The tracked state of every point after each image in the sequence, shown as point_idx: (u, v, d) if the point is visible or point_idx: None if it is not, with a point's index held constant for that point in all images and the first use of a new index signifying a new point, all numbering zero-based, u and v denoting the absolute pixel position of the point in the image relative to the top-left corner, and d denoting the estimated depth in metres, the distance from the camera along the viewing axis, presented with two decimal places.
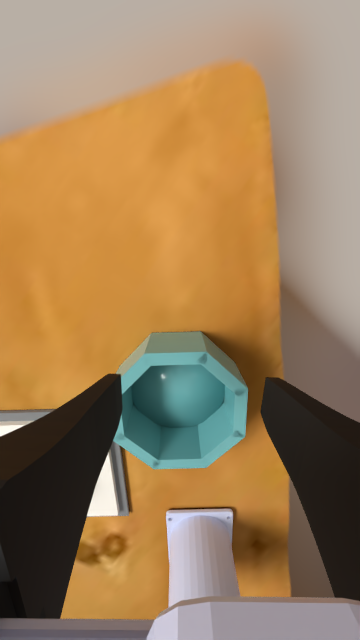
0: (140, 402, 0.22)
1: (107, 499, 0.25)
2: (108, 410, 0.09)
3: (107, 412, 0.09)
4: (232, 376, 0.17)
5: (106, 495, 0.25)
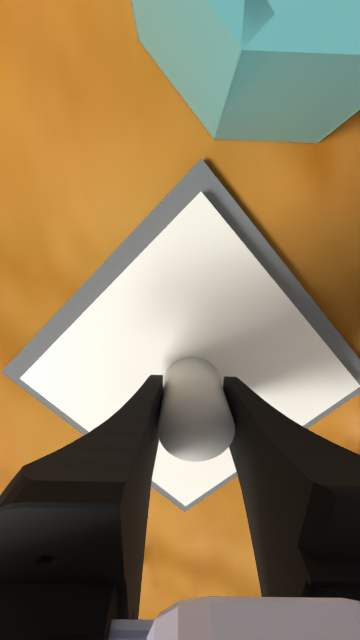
0: None
1: (319, 365, 0.12)
2: (157, 411, 0.09)
3: (157, 413, 0.09)
4: None
5: (312, 358, 0.12)
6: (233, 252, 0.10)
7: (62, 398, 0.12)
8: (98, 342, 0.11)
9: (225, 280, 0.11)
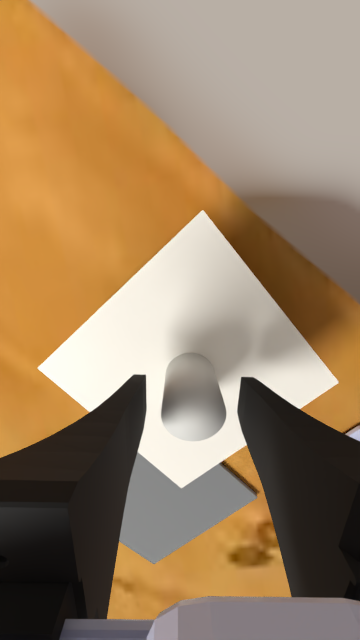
0: None
1: (303, 363, 0.13)
2: (137, 411, 0.09)
3: (137, 412, 0.09)
4: None
5: (297, 356, 0.13)
6: (229, 263, 0.12)
7: (75, 386, 0.14)
8: (108, 338, 0.13)
9: (222, 286, 0.12)
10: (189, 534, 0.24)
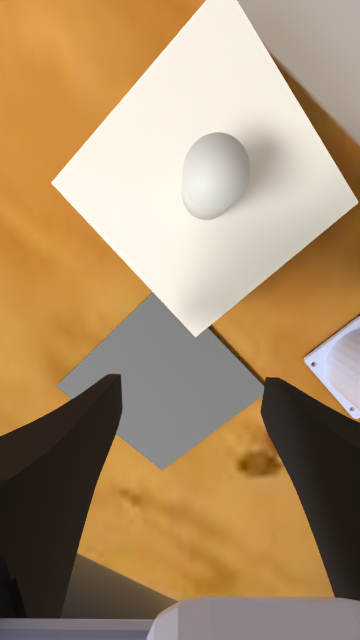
0: None
1: (322, 178, 0.13)
2: (108, 410, 0.09)
3: (107, 411, 0.09)
4: None
5: (316, 168, 0.13)
6: (250, 48, 0.12)
7: (89, 206, 0.14)
8: (124, 144, 0.13)
9: (241, 78, 0.12)
10: (198, 435, 0.24)
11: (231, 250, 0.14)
